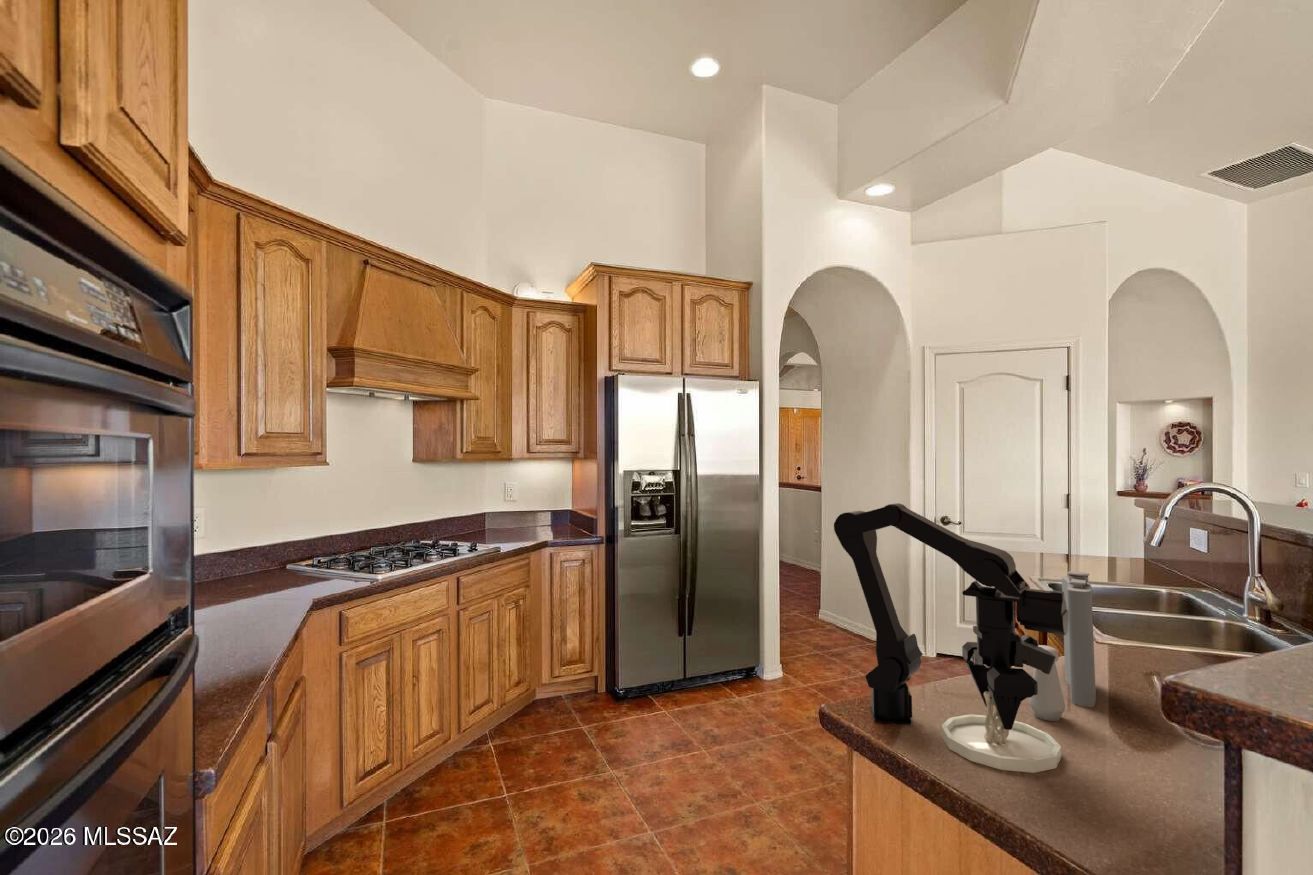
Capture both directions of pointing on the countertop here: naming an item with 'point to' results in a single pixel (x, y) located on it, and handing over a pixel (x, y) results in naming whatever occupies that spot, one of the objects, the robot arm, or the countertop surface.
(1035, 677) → the salt shaker
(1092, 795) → the countertop surface
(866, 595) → the robot arm
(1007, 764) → the ring dish
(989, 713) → the bracelet
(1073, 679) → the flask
